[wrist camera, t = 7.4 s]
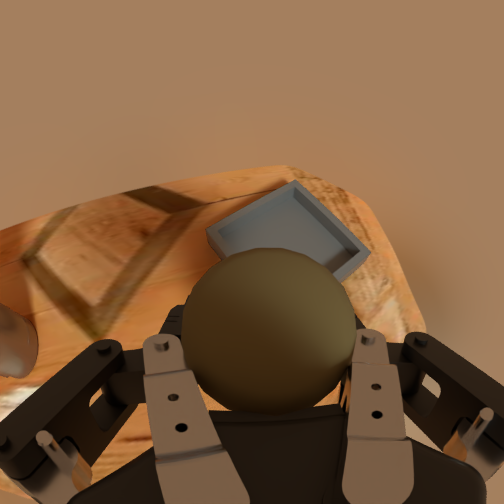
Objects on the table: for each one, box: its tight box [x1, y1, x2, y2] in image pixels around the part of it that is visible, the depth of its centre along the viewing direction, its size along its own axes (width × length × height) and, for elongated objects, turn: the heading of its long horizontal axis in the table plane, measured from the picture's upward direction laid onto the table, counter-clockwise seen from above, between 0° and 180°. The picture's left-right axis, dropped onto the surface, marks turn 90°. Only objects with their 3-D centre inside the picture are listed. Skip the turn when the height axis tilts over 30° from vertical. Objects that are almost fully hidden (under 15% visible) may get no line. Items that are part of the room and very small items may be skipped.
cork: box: [181, 248, 357, 416], centre depth 11 cm, size 6×6×11 cm
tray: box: [205, 179, 371, 283], centre depth 33 cm, size 14×14×3 cm
